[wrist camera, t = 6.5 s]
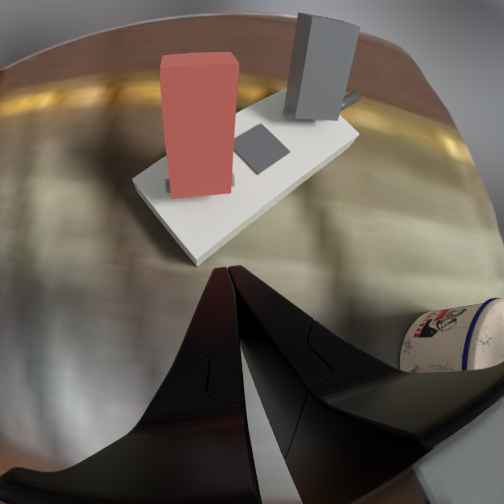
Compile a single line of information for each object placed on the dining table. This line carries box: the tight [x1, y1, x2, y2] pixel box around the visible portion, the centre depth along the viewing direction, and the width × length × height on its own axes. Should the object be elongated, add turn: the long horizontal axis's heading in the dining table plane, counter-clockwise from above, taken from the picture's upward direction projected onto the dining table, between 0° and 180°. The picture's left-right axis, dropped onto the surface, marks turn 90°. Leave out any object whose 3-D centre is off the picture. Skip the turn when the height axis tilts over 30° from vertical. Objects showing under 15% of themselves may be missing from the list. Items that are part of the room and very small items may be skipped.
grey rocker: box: [283, 13, 360, 121], centre depth 20 cm, size 3×5×10 cm, turn 99°
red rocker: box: [160, 52, 239, 199], centre depth 17 cm, size 3×5×10 cm, turn 99°
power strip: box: [132, 88, 361, 266], centre depth 25 cm, size 25×8×3 cm, turn 132°
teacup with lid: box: [400, 298, 504, 373], centre depth 18 cm, size 12×9×12 cm
